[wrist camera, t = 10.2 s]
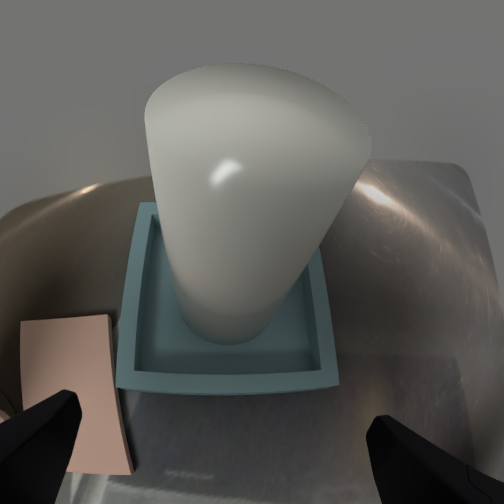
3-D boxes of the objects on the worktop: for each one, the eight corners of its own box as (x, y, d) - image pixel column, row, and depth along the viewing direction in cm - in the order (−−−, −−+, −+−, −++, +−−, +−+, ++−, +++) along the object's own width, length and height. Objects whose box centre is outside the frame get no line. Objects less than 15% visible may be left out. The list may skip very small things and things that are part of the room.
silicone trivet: (134, 472, 12) (131, 474, 12) (39, 465, 11) (33, 466, 10) (111, 318, 17) (107, 314, 16) (26, 324, 15) (20, 321, 15)
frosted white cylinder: (278, 344, 17) (404, 202, 6) (176, 344, 16) (115, 184, 5) (270, 256, 20) (338, 78, 9) (181, 254, 19) (167, 61, 8)
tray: (324, 388, 16) (339, 384, 14) (127, 389, 15) (115, 386, 13) (302, 228, 23) (312, 209, 20) (145, 222, 21) (140, 202, 19)
